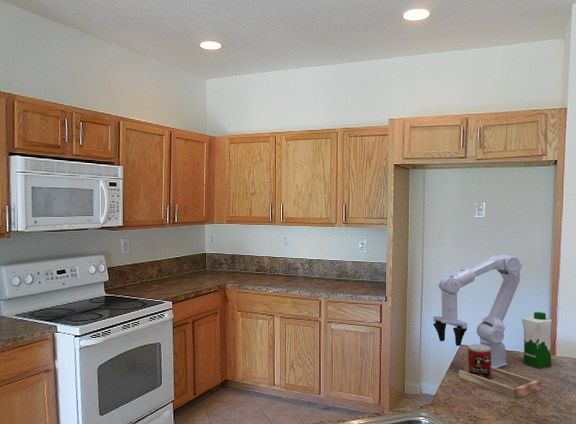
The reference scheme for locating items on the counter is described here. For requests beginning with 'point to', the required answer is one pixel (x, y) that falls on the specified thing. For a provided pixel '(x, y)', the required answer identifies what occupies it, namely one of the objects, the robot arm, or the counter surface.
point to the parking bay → (518, 392)
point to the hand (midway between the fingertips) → (450, 343)
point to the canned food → (479, 360)
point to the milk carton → (537, 340)
